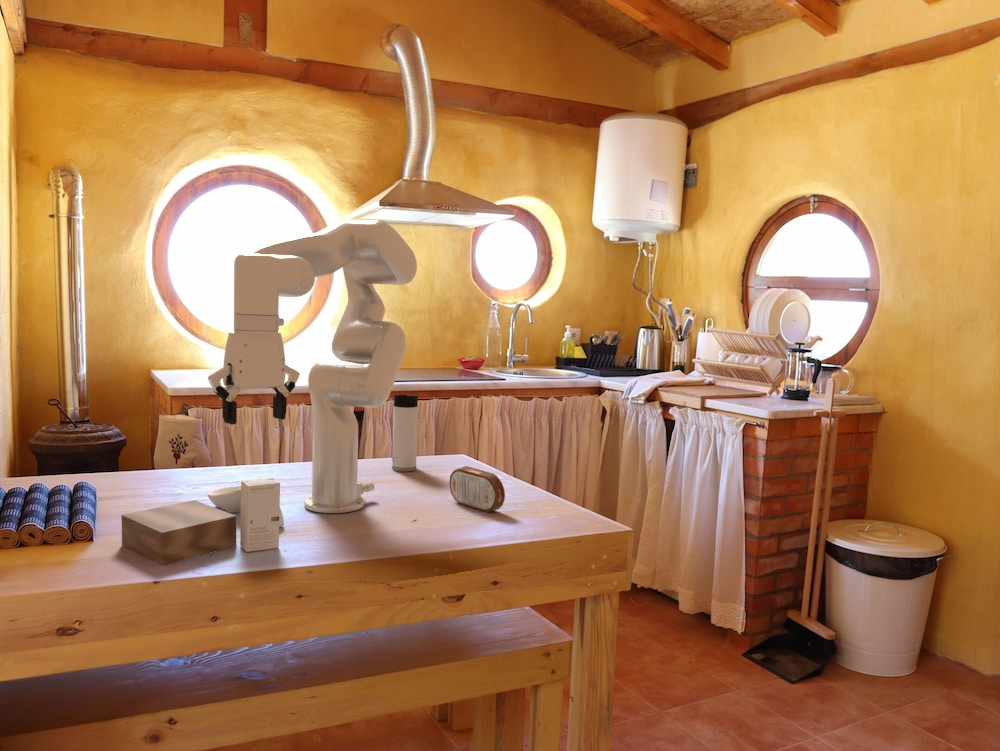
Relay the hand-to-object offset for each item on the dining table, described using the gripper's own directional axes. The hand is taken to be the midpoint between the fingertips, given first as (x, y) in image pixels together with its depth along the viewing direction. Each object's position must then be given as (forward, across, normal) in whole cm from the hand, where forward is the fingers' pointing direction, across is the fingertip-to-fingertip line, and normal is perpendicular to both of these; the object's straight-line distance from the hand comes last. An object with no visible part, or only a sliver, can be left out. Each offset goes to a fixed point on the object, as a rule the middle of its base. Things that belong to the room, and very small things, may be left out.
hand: (255, 420), depth 142 cm
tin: (+23, -49, +8) cm, 55 cm away
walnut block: (+23, +10, -9) cm, 27 cm away
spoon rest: (+23, -10, -18) cm, 31 cm away
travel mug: (+22, -60, -28) cm, 70 cm away
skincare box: (+23, -1, +1) cm, 23 cm away
